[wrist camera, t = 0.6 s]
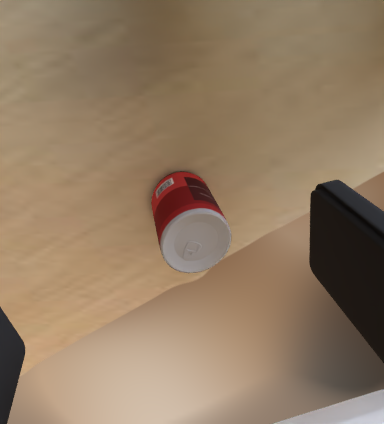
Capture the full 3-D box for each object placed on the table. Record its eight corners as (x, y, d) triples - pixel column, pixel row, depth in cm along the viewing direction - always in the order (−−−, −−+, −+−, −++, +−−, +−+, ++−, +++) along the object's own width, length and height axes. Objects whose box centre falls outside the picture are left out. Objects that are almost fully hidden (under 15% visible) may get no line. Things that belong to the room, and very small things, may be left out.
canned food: (147, 222, 46) (156, 274, 37) (153, 167, 42) (165, 209, 33) (202, 224, 48) (223, 274, 39) (212, 171, 44) (239, 212, 35)
